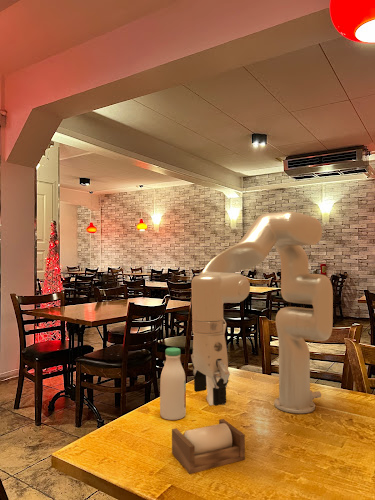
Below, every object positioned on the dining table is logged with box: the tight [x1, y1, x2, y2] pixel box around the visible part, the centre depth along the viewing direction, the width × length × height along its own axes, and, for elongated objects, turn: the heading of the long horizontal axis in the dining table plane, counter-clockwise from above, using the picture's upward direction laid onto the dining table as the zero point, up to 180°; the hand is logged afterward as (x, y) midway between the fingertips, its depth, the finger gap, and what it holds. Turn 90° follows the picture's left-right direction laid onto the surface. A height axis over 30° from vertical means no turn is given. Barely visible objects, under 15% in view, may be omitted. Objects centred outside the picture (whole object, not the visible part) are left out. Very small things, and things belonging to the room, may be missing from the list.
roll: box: [183, 423, 232, 456], centre depth 94 cm, size 10×6×6 cm, turn 115°
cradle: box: [171, 418, 246, 475], centre depth 94 cm, size 14×10×6 cm
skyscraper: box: [206, 318, 227, 406], centre depth 129 cm, size 8×8×28 cm
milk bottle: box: [159, 347, 187, 421], centre depth 118 cm, size 8×8×20 cm
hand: (209, 397), depth 94 cm, fingers open, 9 cm apart
